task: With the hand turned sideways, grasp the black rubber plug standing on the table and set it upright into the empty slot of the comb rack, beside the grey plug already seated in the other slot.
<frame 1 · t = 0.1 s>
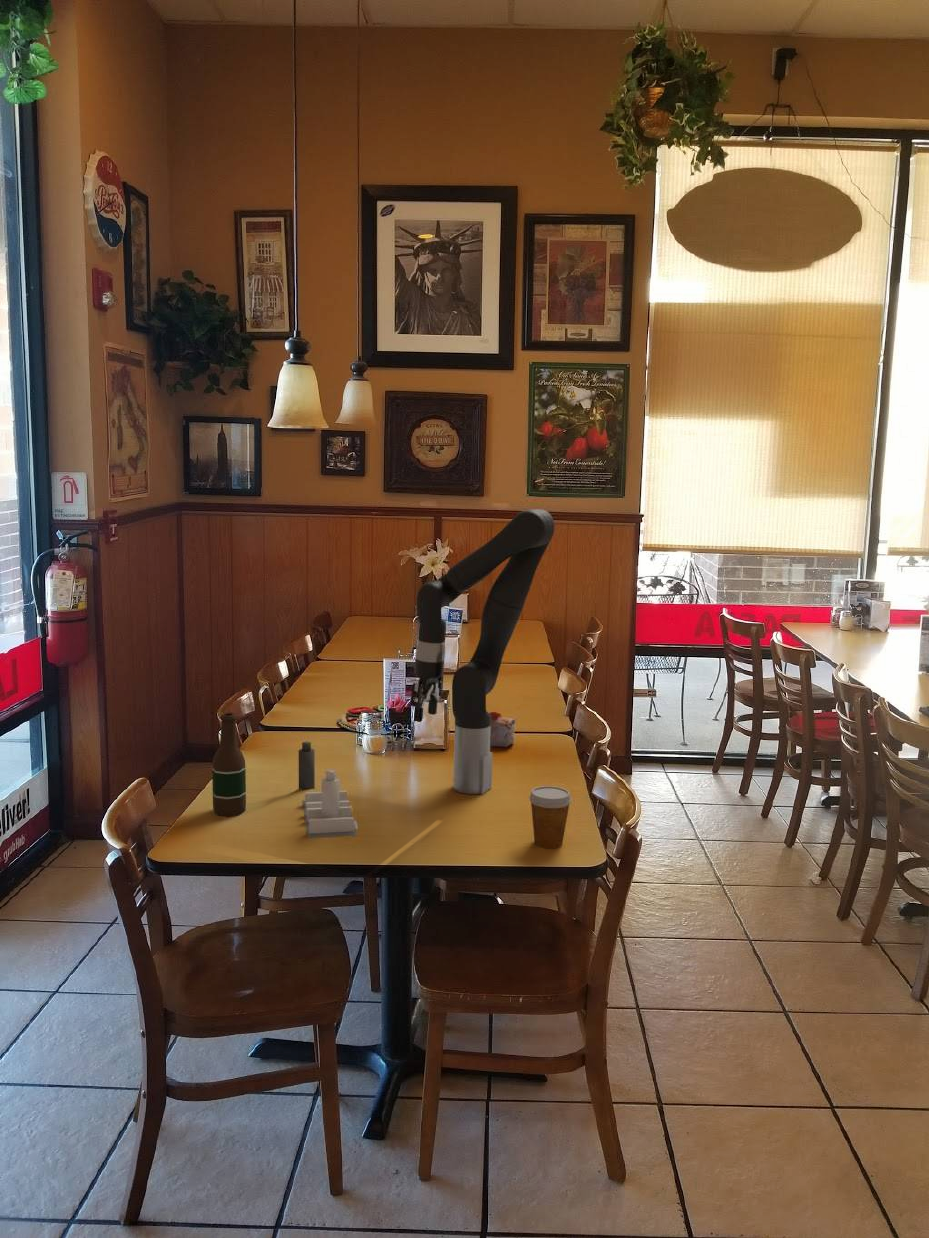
hand: (425, 717, 267), 17 cm above the table, tool pointing down, fingers open, 8 cm apart
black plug: (306, 792, 259), on the table
comb rack: (328, 823, 238), on the table
grey plug: (330, 825, 233), point 1 cm above the table, touching comb rack
beer bottle: (229, 812, 244), on the table
disposable coffee cup: (548, 844, 230), on the table
food item: (492, 744, 305), on the table
toy pizza: (381, 724, 325), on the table
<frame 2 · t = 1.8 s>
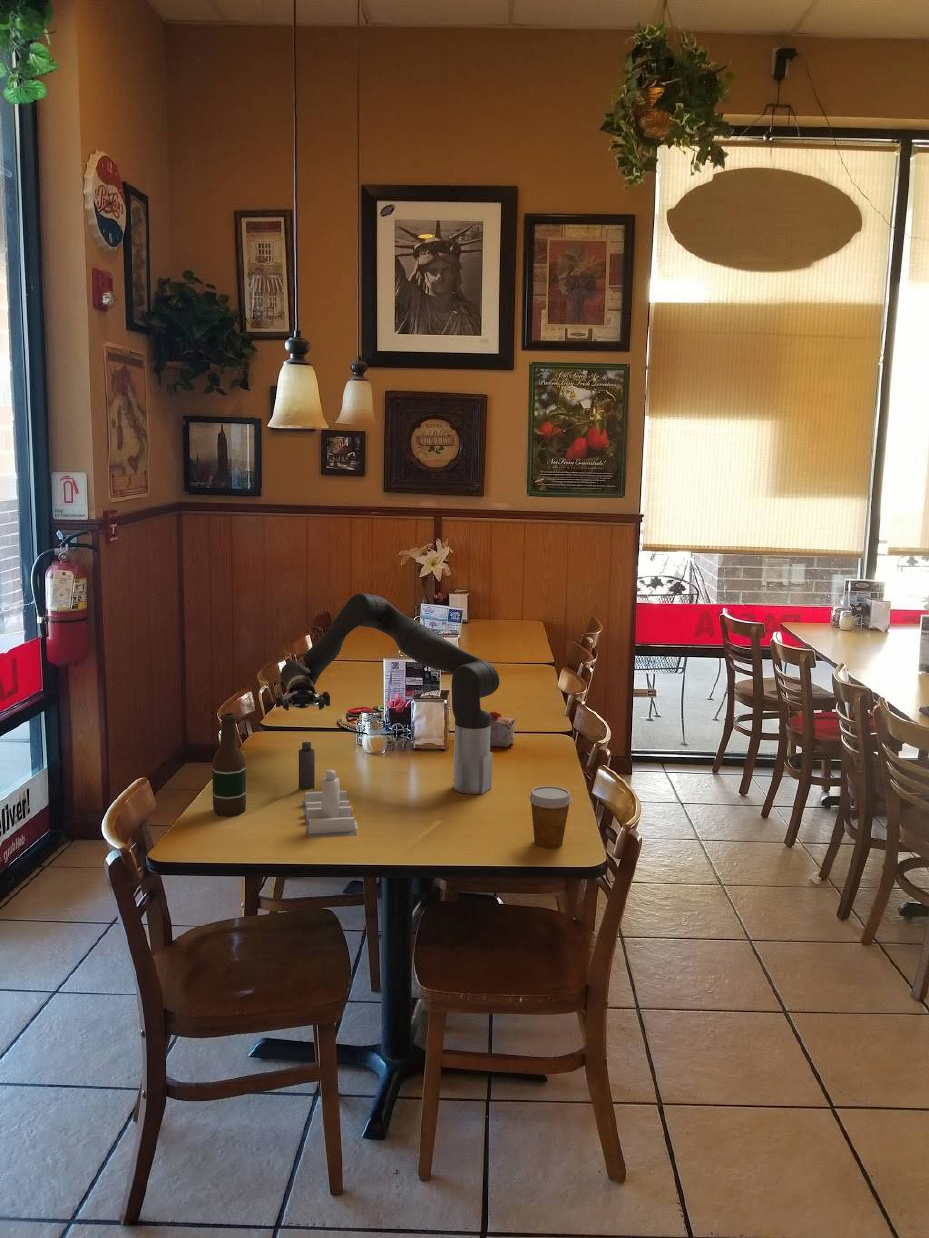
hand: (304, 706, 265), 20 cm above the table, tool horizontal, fingers open, 8 cm apart
nothing on the table moved.
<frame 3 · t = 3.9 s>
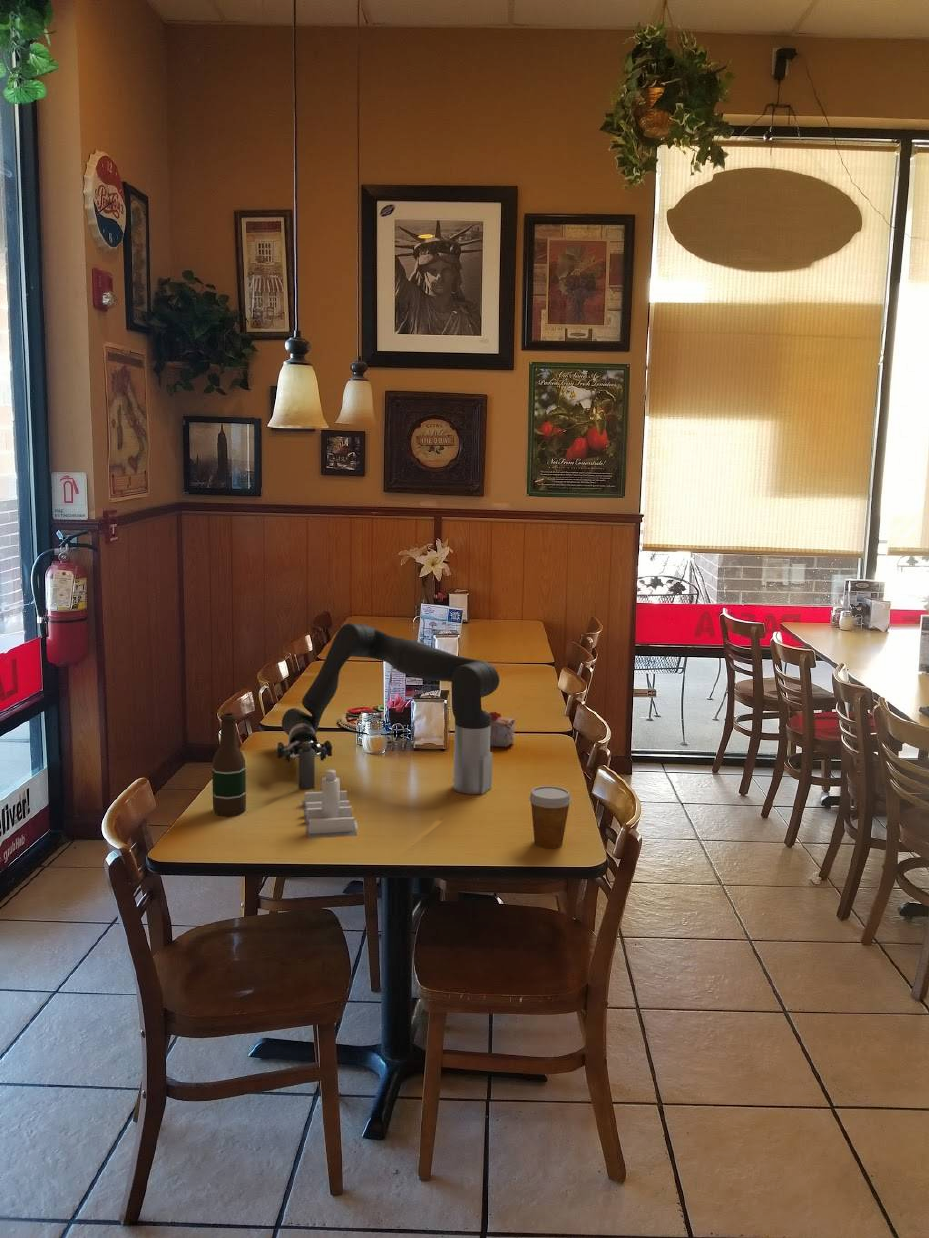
hand: (305, 757, 263), 7 cm above the table, tool horizontal, fingers open, 8 cm apart
nothing on the table moved.
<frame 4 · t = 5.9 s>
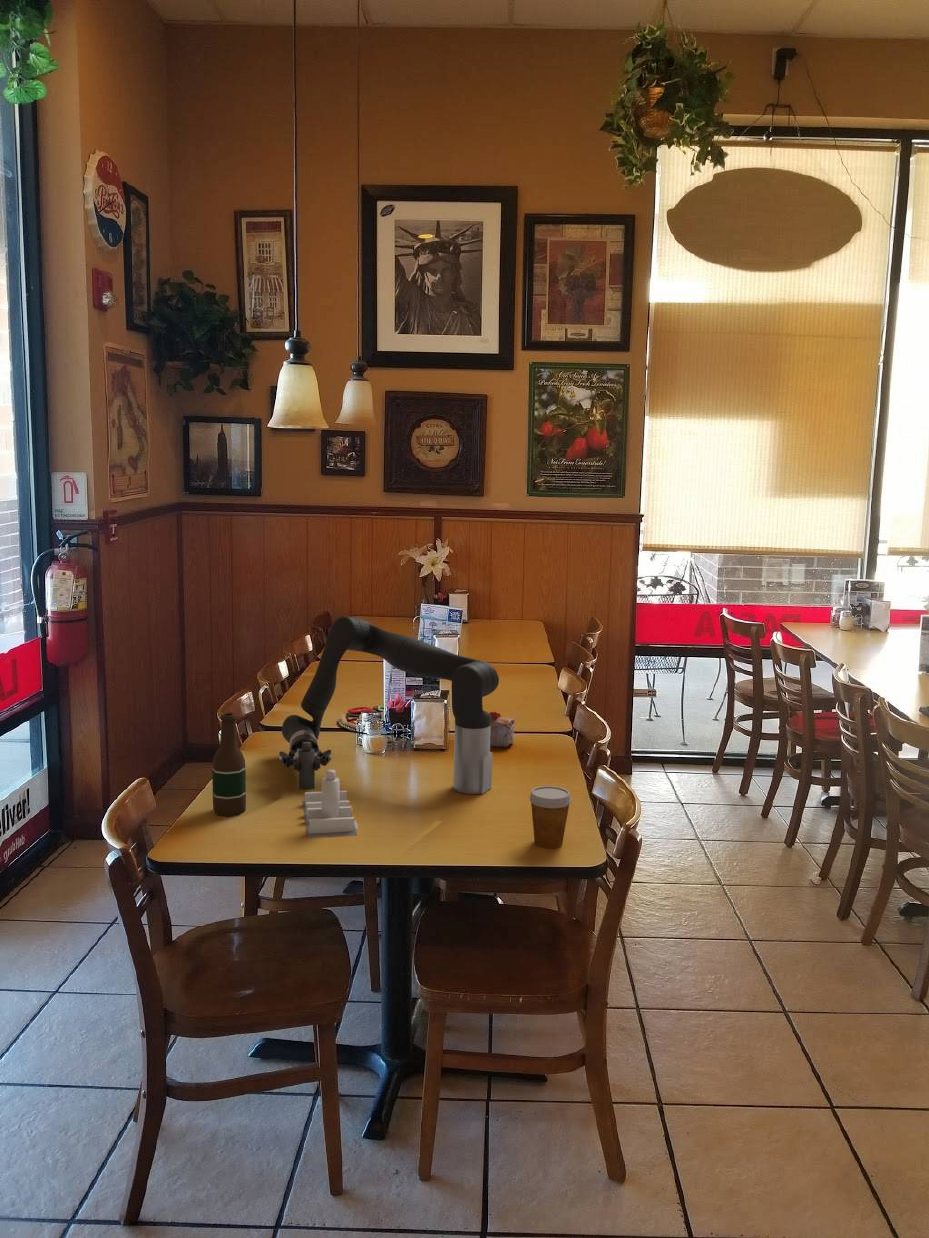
hand: (307, 767, 255), 8 cm above the table, tool horizontal, fingers closed on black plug, 4 cm apart
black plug: (306, 792, 259), on the table, touching gripper
everything else where it was.
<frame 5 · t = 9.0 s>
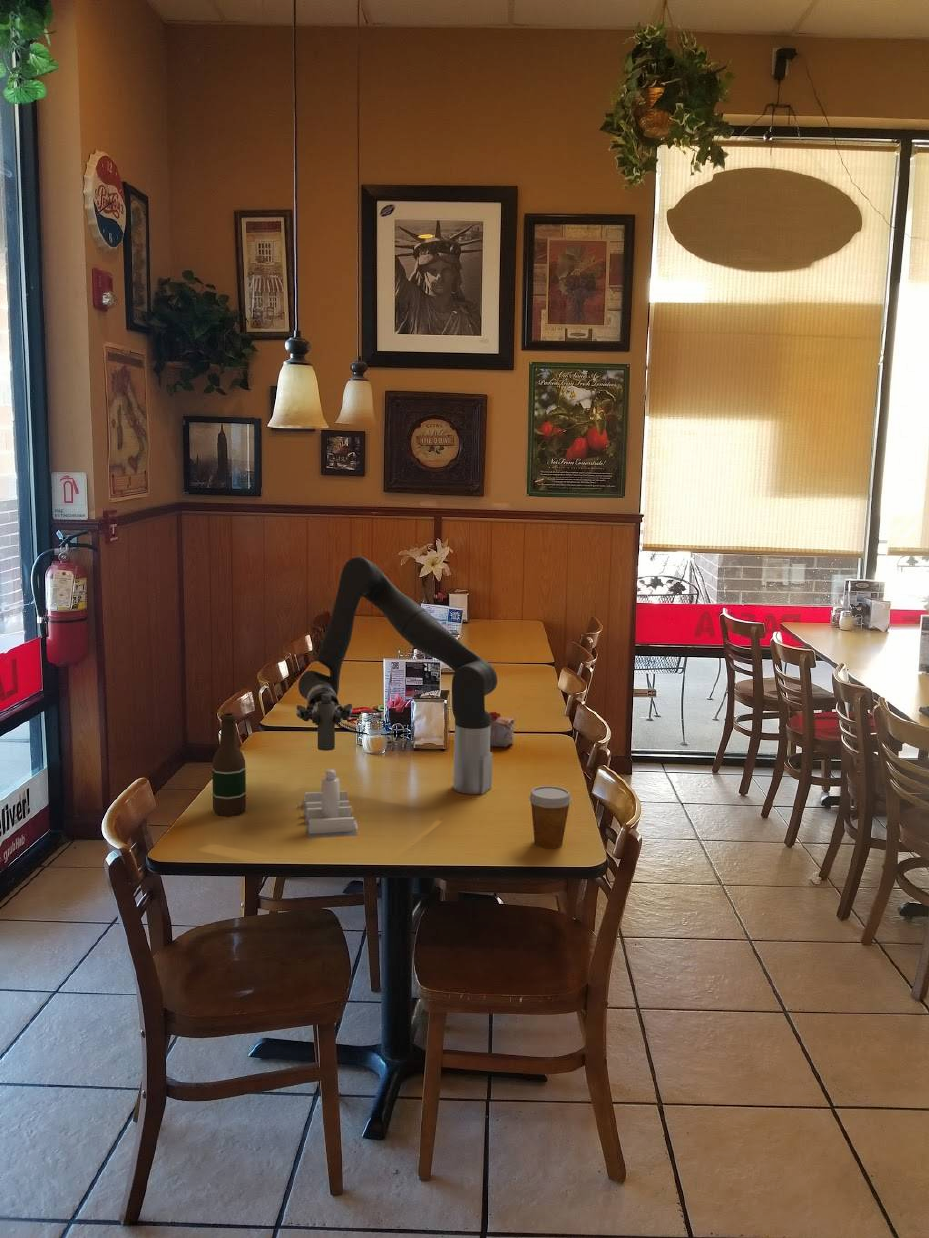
hand: (327, 720, 237), 24 cm above the table, tool horizontal, fingers closed on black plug, 4 cm apart
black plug: (326, 748, 241), point 16 cm above the table, touching gripper
everything else where it was.
when the fingers open (10 cm above the table, at t = 12.0 s): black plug drops 1 cm, resting on comb rack.
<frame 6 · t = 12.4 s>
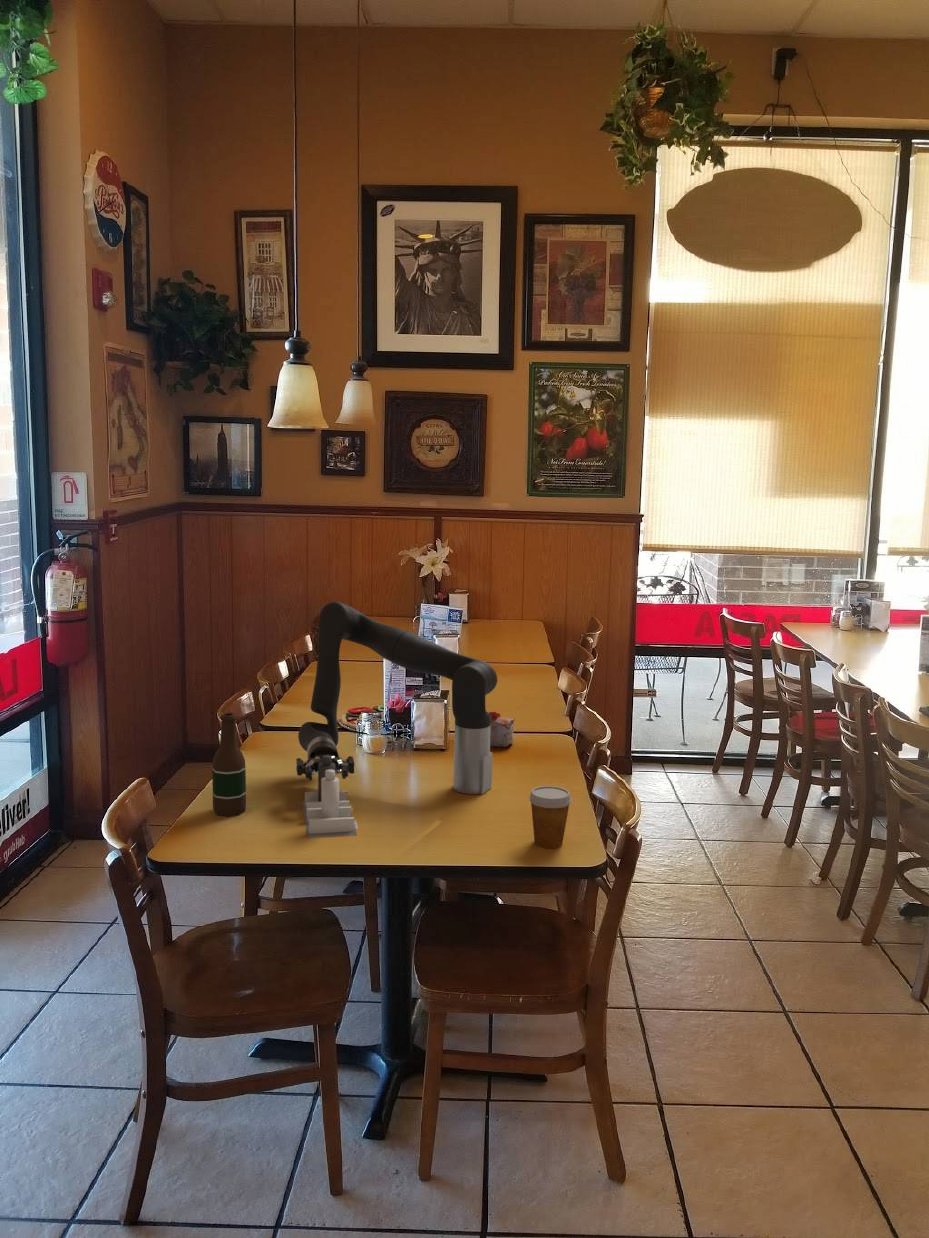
hand: (327, 775, 240), 11 cm above the table, tool horizontal, fingers open, 7 cm apart
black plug: (326, 808, 243), point 2 cm above the table, touching comb rack
everything else where it was.
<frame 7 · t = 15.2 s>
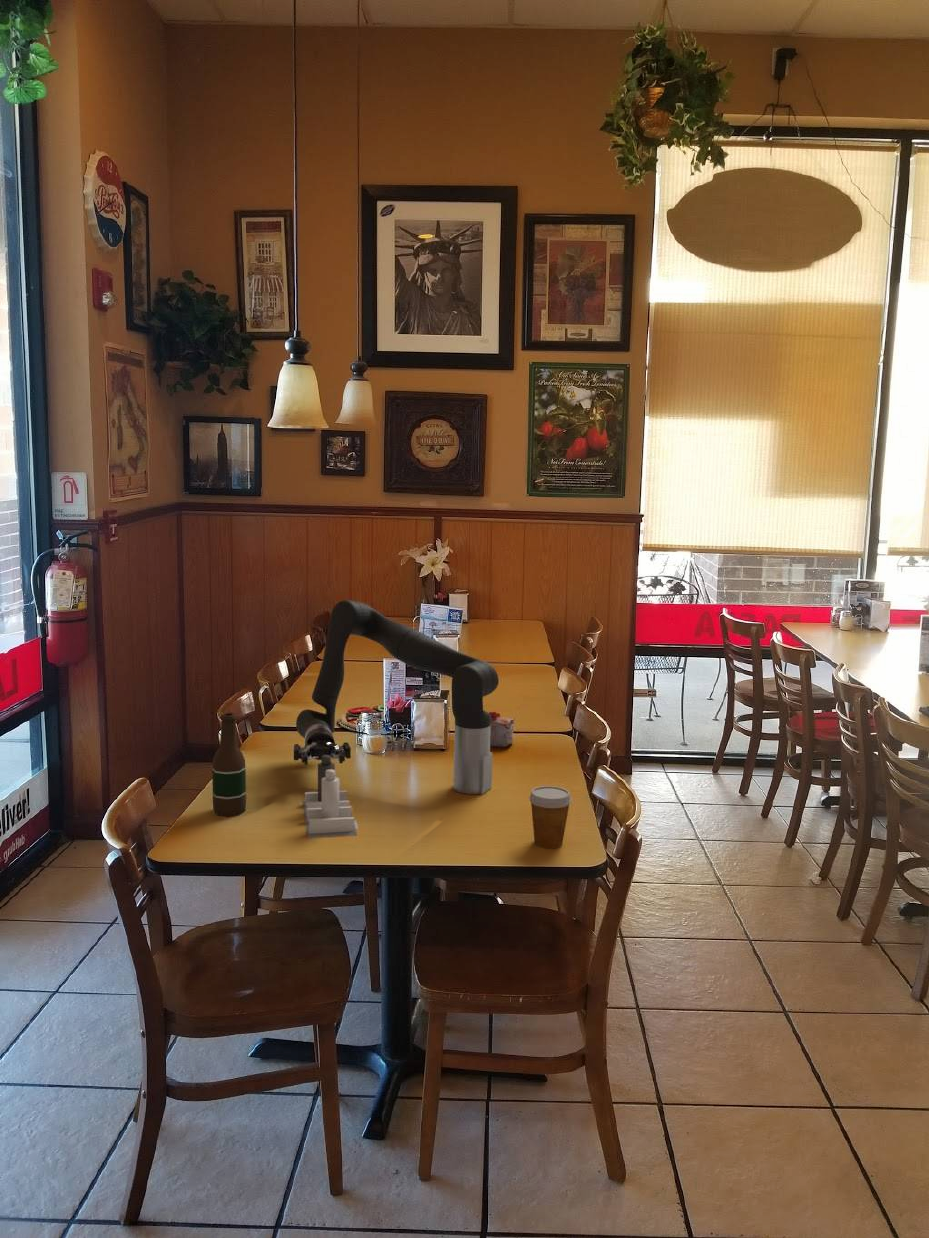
hand: (323, 760, 251), 10 cm above the table, tool horizontal, fingers open, 8 cm apart
nothing on the table moved.
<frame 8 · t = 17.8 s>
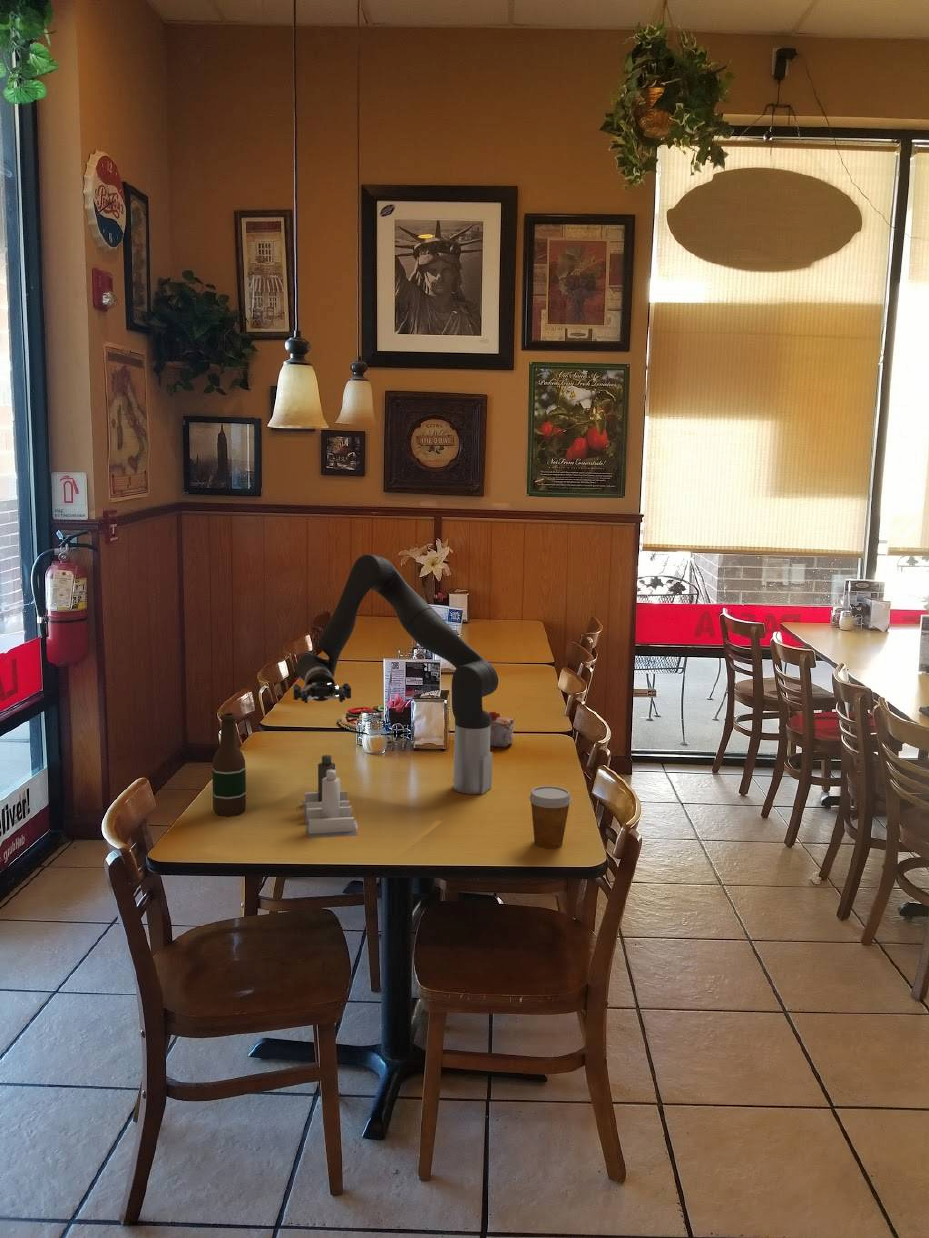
hand: (323, 698, 249), 26 cm above the table, tool horizontal, fingers open, 8 cm apart
nothing on the table moved.
at the end: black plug 0.1 cm from the target spot on the comb rack, point 1.5 cm above the comb rack's base; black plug tilted 1°; grey plug moved 0.0 cm from its start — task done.
